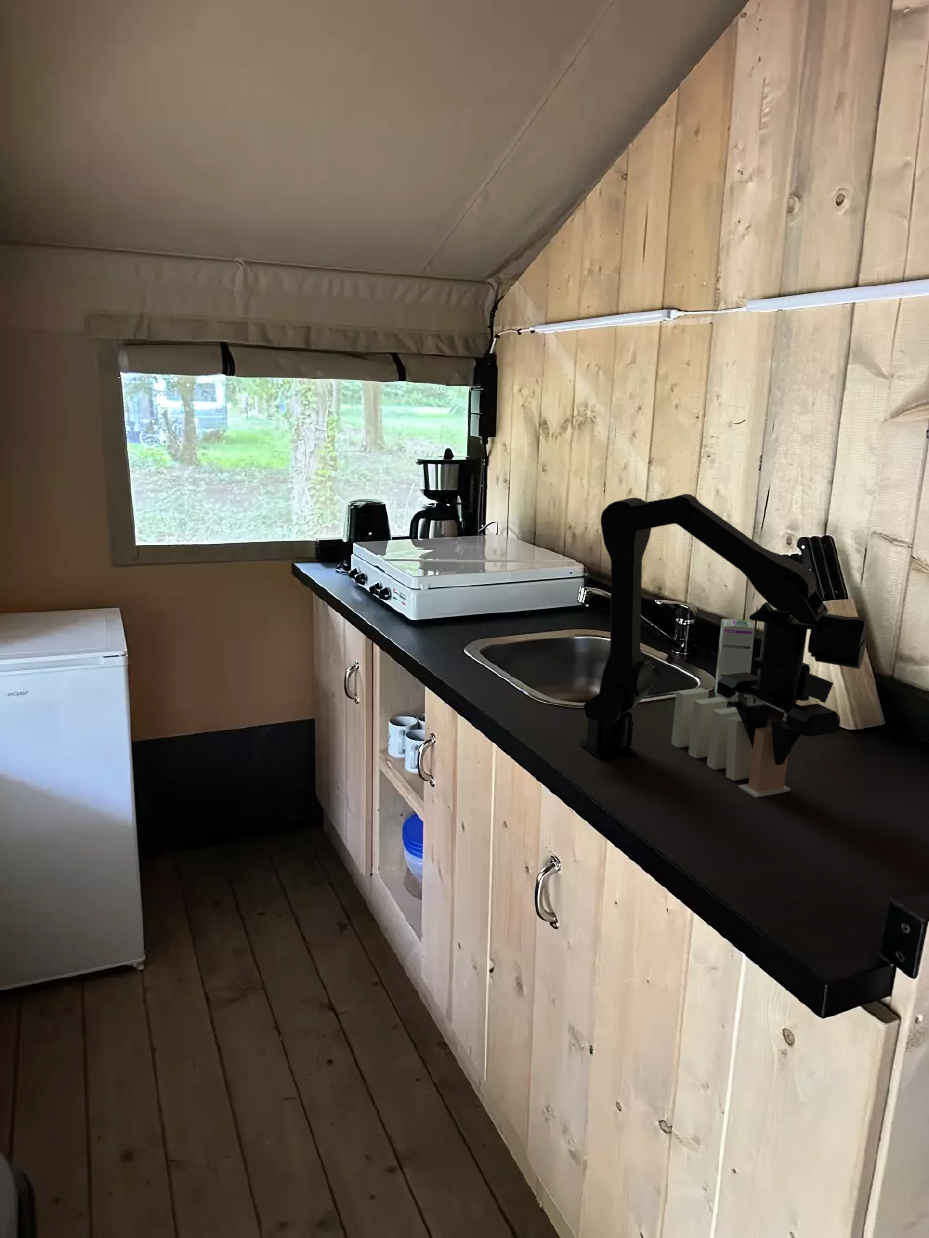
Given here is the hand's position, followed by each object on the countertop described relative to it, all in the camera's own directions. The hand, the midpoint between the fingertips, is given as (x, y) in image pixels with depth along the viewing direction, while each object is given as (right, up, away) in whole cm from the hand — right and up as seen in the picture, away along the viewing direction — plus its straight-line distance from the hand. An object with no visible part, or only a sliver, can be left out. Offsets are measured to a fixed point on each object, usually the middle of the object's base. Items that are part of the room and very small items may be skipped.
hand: (768, 758), depth 130 cm
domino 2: (-6, -1, +13) cm, 14 cm away
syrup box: (+6, +5, +40) cm, 41 cm away
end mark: (0, -5, +1) cm, 5 cm away
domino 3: (-4, -2, +9) cm, 10 cm away
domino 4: (-2, -3, +5) cm, 7 cm away
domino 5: (0, -4, +1) cm, 5 cm away
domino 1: (-7, 0, +17) cm, 19 cm away
